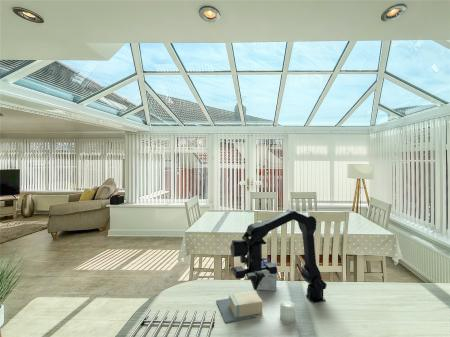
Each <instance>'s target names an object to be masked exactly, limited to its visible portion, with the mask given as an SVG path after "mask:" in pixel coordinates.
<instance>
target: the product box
mask: <svg viewBox="0 0 450 337" xmlns="http://www.w3.org/2000/svg"><path fill="white" fill-rule="evenodd" d="M262 258H263V261H262V267H264V264H265V263H271V259H270V258H266V257H262ZM272 263H273V264H274V265H275V266H276V267H277V263H276V262H272ZM264 275H265V277H263V278H262V280H261V282H260V283H259V285H258V287H257V289H256V291H258V290H259V291H271V292H272V291H274V292H276V291H277V274H270V273H269V271H264Z"/></svg>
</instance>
